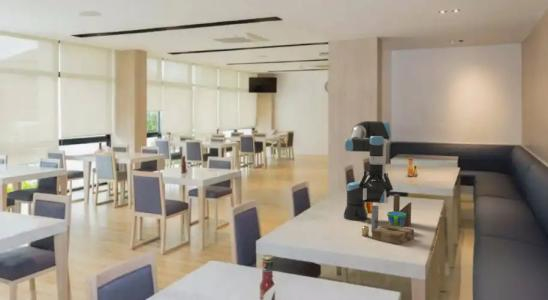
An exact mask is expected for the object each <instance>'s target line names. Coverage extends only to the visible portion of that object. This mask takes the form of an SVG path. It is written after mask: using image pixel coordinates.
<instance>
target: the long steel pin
mask: <svg viewBox="0 0 548 300" xmlns="http://www.w3.org/2000/svg"><path fill="white" fill-rule="evenodd" d="M378 227H379V206H378V205H371V228H370V229H371V230H370V231H371V233H372V230H373V229H376V228H378Z"/></svg>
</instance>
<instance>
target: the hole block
mask: <svg viewBox="0 0 548 300" xmlns="http://www.w3.org/2000/svg"><path fill="white" fill-rule="evenodd" d="M414 236H415V229H412V228H408V227H404V228H403V227H398V226H392V225H389V224H384V225H382V226H378V228H376V229H373V230H372V232H371V240H375V241H379V242H380V241H381V242H385V243H390V244H395V245H398V246H399V245H403V244H405V243H407V242H409V241H411V240H414V239H415V237H414Z"/></svg>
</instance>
